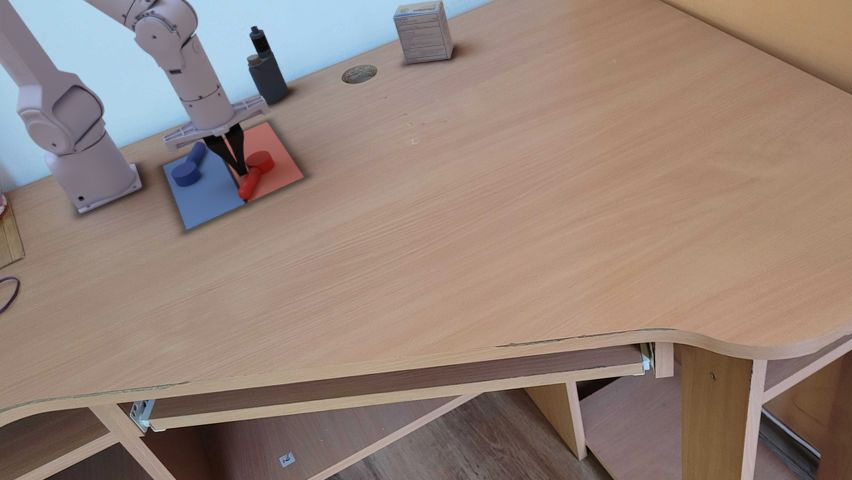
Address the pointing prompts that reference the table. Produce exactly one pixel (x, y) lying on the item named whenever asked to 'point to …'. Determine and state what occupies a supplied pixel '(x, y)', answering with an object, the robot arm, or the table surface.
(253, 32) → the vaping device
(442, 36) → the medicine box
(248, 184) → the red spoon
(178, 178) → the blue spoon
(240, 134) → the robot arm
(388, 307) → the table surface
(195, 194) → the sorting mat
